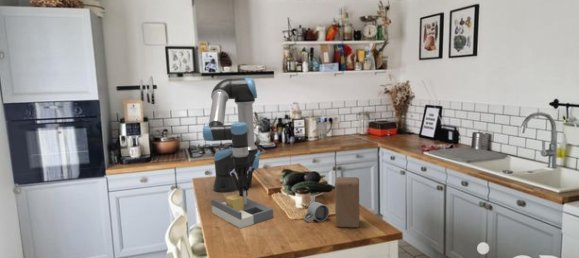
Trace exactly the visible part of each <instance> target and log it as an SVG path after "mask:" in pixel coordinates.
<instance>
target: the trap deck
mask: <svg viewBox="0 0 579 258" xmlns="http://www.w3.org/2000/svg"><path fill="white" fill-rule="evenodd" d="M211 211H212V214H214V215H215V216H218V218H221V219H223V220H224V221H226V222H228V223H230V224H232V225H233V226H235V227H238V228H239V229H242V228H246V227H249V226H252V225H256V224H258V223H261V222H264V221H267V220H270V219H273V218H274V209H273V208H271V207H269V206H266V205H263V204H262V203H259V202H257V201H254V200H252V199H249V198H247V204H245V205H244V210H240V211H237V210H235V209H233V208H231V207H229V206H227V205H226V201H222V202H221V201H218V200H216V199H214V198H211Z"/></svg>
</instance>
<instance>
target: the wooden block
mask: <svg viewBox="0 0 579 258" xmlns="http://www.w3.org/2000/svg"><path fill="white" fill-rule="evenodd" d="M334 203H335V205H334V206H335V207H334V208H335V210H334V211H335V212H334V213H335V226H336V227H338V228H359V227H360V179H359V177H358V176H354V177H353V176H352V177H351V176H338V177H336V180H335V183H334Z"/></svg>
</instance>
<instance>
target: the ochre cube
mask: <svg viewBox="0 0 579 258" xmlns="http://www.w3.org/2000/svg"><path fill="white" fill-rule="evenodd" d="M225 202H226V205H227V206H229V207H231V208H233V209H235V210H237V211H240V210H244V199H243V197H242V196H239V194H232V195H229V196H226V197H225Z"/></svg>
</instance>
